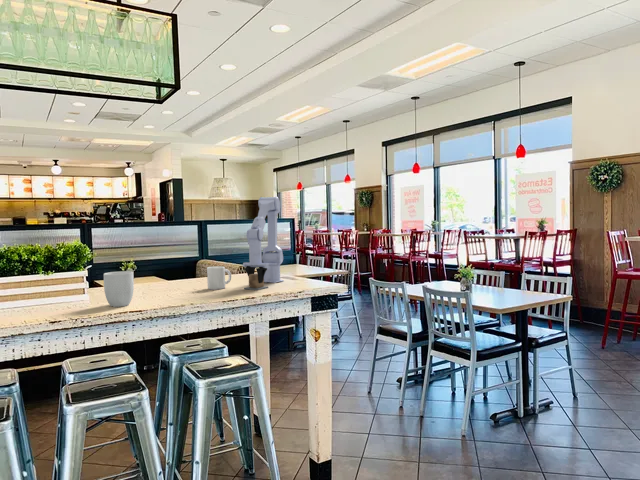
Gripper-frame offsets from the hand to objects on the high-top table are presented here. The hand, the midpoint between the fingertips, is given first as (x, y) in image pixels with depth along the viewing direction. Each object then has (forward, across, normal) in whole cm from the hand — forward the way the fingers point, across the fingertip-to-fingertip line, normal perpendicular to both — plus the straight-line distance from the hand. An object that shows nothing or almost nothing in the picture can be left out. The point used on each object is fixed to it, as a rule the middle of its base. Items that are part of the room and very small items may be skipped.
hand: (256, 282), depth 230 cm
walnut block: (+2, 0, 0) cm, 2 cm away
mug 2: (+3, -17, -7) cm, 19 cm away
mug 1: (+3, -20, -58) cm, 61 cm away
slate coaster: (+3, 0, 0) cm, 3 cm away
